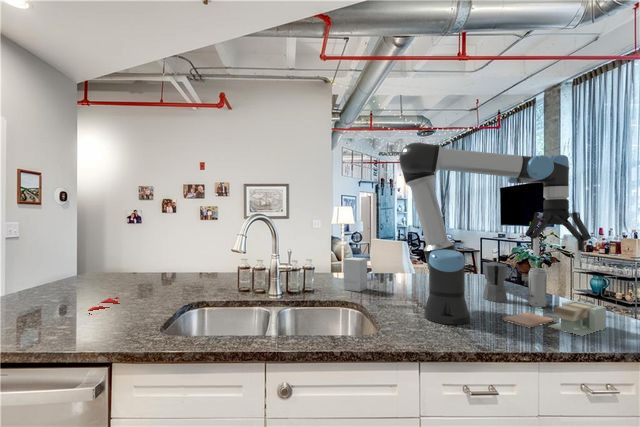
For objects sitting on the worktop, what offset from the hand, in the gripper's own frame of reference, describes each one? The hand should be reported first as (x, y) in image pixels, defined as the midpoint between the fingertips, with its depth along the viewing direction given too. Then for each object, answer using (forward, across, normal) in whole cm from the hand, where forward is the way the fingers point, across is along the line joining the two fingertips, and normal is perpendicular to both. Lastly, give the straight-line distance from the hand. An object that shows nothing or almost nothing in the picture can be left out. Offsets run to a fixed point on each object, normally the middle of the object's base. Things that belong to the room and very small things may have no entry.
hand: (556, 257), depth 123 cm
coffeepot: (+21, +25, -2) cm, 32 cm away
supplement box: (+21, +71, +37) cm, 83 cm away
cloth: (+21, +96, +140) cm, 171 cm away
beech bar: (+17, -10, +10) cm, 22 cm away
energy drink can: (+21, +10, -8) cm, 25 cm away
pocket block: (+21, -10, +9) cm, 25 cm away
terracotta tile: (+21, +2, +15) cm, 26 cm away
